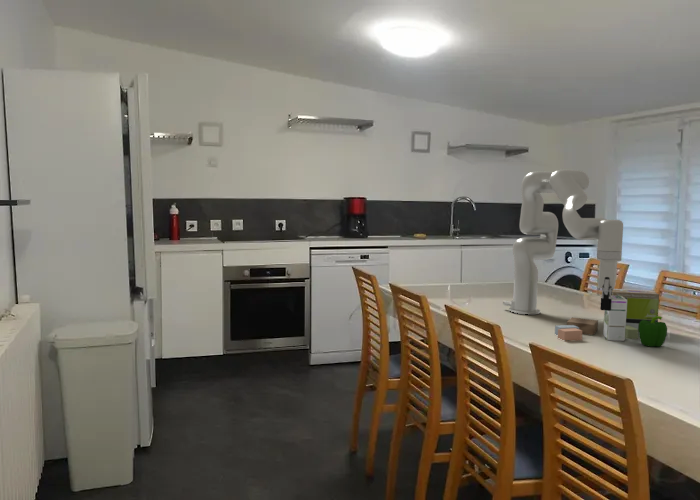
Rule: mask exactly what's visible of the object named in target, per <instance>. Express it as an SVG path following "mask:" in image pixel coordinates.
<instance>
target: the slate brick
mask: <svg viewBox="0 0 700 500" xmlns="http://www.w3.org/2000/svg"><path fill="white" fill-rule="evenodd" d="M570 328H577V329H579V327H577V326H574V325H567V324H566V325H564V324H562V325H561V324H560V325H555V326H554V335H555V334H556V335H558V329H570ZM556 335H555V336H556Z"/></svg>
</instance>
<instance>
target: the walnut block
mask: <svg viewBox="0 0 700 500" xmlns="http://www.w3.org/2000/svg"><path fill="white" fill-rule="evenodd" d="M566 325H574V326H577V327H579V329H580V330H582V335H589V334H590V335H591V336H594V335H595V334H596V333H597V331H598V327H599V320H597V319H596V320H595V319H588V318H582V317H581V318H580V317H571V318H569V319H568V320H567V321H566Z"/></svg>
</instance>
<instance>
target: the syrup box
mask: <svg viewBox="0 0 700 500" xmlns="http://www.w3.org/2000/svg"><path fill="white" fill-rule="evenodd" d="M611 299H612V300H611V311H606V310H604V315H603V316H604V317H603V331H602V332H603V333H602V335H603V336H604V338H605V339H606V340H607V341H615V342H617V341H618V342H625V340H626V338H625V328H626V312H627V299H625V298H624V297H623V296H618V295H611Z"/></svg>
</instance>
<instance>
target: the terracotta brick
mask: <svg viewBox="0 0 700 500" xmlns="http://www.w3.org/2000/svg"><path fill="white" fill-rule="evenodd" d="M558 338H560V339H562V340H575V341H583V334H582V330H580V329H577V328H570V329H558V336H557V339H558ZM560 339H559V340H560ZM562 340H561V341H562Z"/></svg>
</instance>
